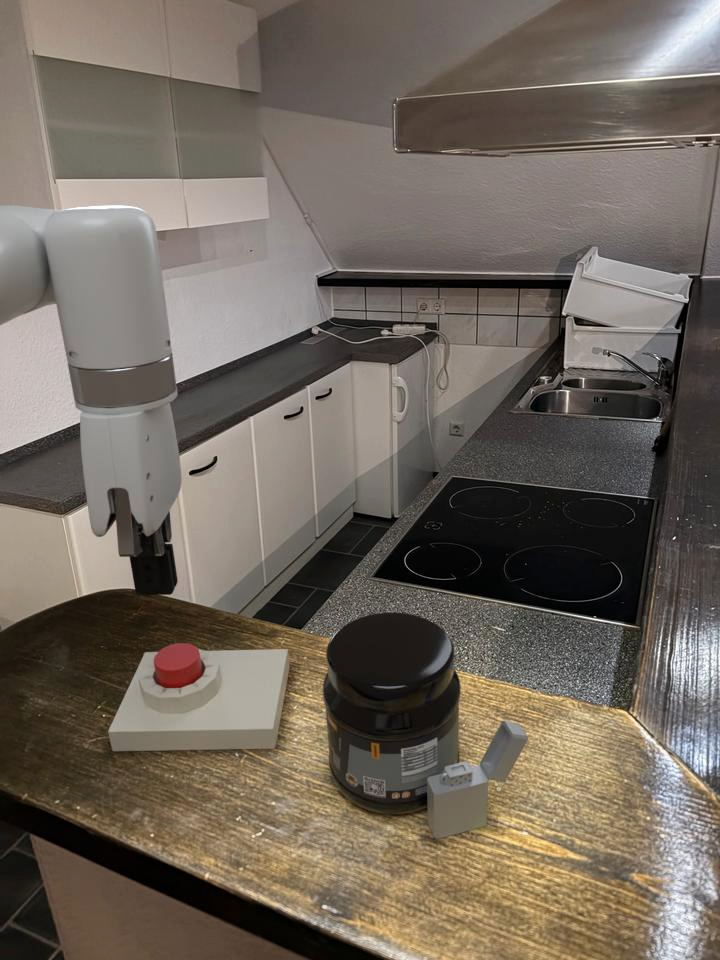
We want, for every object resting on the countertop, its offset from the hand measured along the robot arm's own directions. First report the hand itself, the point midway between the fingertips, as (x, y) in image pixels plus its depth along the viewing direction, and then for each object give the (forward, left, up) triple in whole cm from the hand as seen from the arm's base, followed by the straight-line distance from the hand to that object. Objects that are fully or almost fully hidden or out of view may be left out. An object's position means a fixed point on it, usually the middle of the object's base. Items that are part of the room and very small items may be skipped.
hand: (157, 589), depth 65 cm
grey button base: (+3, 0, -13) cm, 13 cm away
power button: (+1, 0, -9) cm, 9 cm away
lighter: (+26, -13, -13) cm, 31 cm away
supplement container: (+20, -8, -13) cm, 25 cm away
